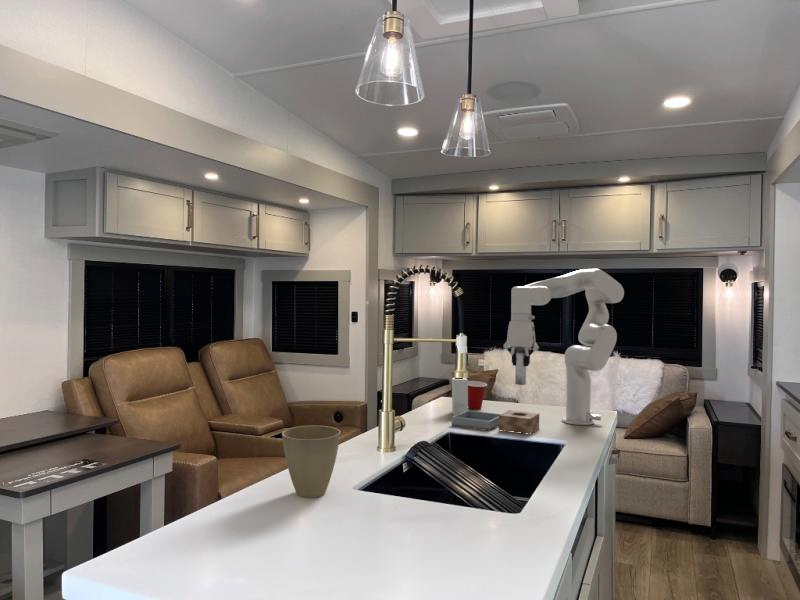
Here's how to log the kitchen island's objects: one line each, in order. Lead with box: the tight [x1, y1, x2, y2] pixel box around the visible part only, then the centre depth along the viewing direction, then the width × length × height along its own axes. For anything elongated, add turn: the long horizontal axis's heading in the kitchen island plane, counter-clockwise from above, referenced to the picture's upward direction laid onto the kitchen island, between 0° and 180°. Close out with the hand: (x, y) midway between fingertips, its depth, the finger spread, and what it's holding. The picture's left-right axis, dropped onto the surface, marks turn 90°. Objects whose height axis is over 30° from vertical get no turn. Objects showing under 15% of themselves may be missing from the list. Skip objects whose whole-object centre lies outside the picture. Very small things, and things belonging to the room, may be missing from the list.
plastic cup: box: [468, 380, 488, 411], centre depth 268 cm, size 11×11×12 cm
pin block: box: [498, 409, 540, 435], centre depth 227 cm, size 12×12×6 cm
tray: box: [451, 409, 502, 431], centre depth 235 cm, size 16×16×4 cm
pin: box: [514, 347, 527, 386], centre depth 227 cm, size 5×5×15 cm
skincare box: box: [451, 377, 469, 416], centre depth 256 cm, size 8×7×16 cm
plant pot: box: [281, 425, 341, 499], centre depth 151 cm, size 15×15×16 cm
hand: (520, 365), depth 227 cm, fingers closed on pin, 4 cm apart
